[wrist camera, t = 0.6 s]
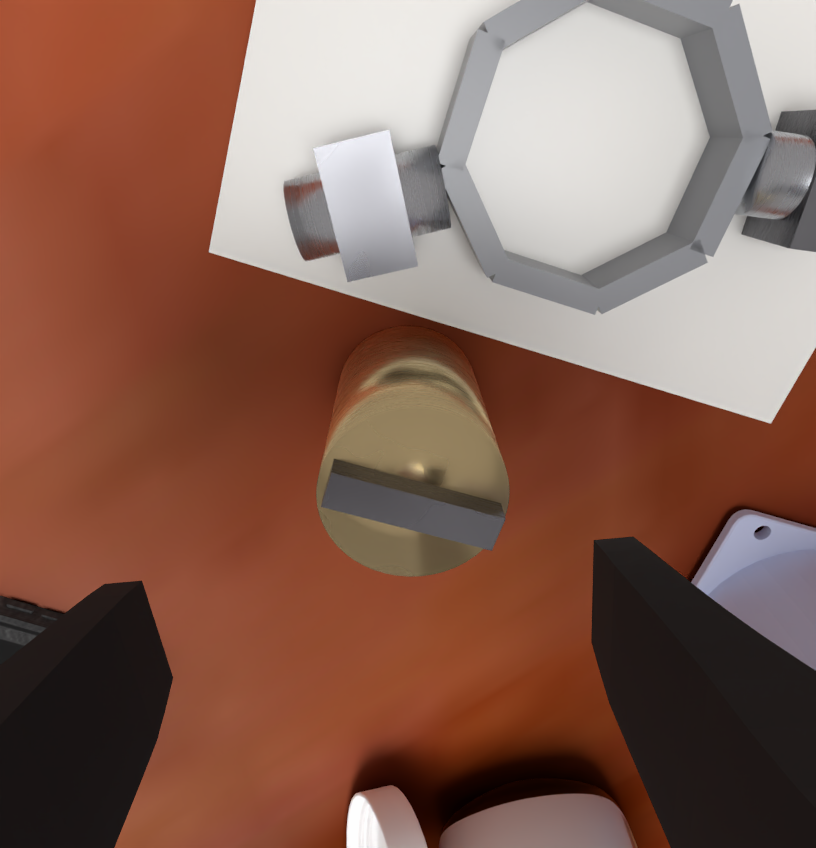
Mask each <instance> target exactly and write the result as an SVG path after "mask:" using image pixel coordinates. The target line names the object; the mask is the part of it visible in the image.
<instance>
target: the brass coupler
mask: <svg viewBox="0 0 816 848" xmlns="http://www.w3.org/2000/svg"><path fill="white" fill-rule="evenodd" d="M316 497H317V507H318V511H319V515H320V518H321V520H322V523H323V525H324V527H325V529H326V531H327V533H328V534H329V536H330V537H331V539H332V540H333V541H334V542H335V544H336V545H337V546H338V547H339V548H340V549H341V550H342V551H343V552H344V553H346V554H347V555H348V556H349V557H351V558H352V559H353V560H355V561H357V562H359V563H360V564H362V565H364V566H366V567H369V568H371V569H373V570H376V571H379V572H383V573H386V574H391V575H397V576H425V575H432V574H436V573H440V572H444V571H447V570H450V569H452V568H455V567H457V566H459V565H461V564H463V563H465V562H467V561H468V560H470V559H471V558H473V557H474V556H476V555H477V554H478V553H479V552H480V551H482V550H483V549H487V550H491V551H492V549H493V546H494V544H495V542H496V539H497V537H498V535H499V533H500V530H501V528H502V526H503V524H504V521H505V515H506V512H507V508H508V503H509V480H508V475H507V471H506V467H505V464H504V461H503V458H502V455H501V452H500V449H499V446H498V443H497V441H496V438H495V435H494V432H493V429H492V426H491V423H490V420H489V417H488V414H487V411H486V408H485V405H484V402H483V399H482V396H481V393H480V390H479V387H478V384H477V381H476V378H475V375H474V372H473V369H472V367H471V364H470V362H469V360H468V359H467V357H466V355H465V354H464V353H463V351H462V350H461V349H460V348H459V347H458V346H457V345H456V344H455V343H454V342H453V341H452V340H450V339H449V338H447V337H446V336H444V335H442V334H441V333H439V332H437V331H434V330H431V329H428V328H424V327H420V326H397V327H391V328H388V329H384V330H381V331H379V332H377V333H375V334H373V335H371V336H370V337H368V338H366V339H365V340H364V341H363V342H361V343H360V344H359V345H358V346H357V347H356V348H355V349H354V350H353V351H352V353H351V354H350V356H349V357H348V359H347V360H346V362H345V364H344V366H343V369H342V372H341V375H340V380H339V385H338V389H337V394H336V398H335V403H334V408H333V412H332V417H331V421H330V426H329V431H328V435H327V440H326V444H325V449H324V454H323V458H322V463H321V467H320V472H319V477H318V481H317V491H316Z"/></svg>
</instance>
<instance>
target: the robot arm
mask: <svg viewBox="0 0 816 848" xmlns="http://www.w3.org/2000/svg"><path fill="white" fill-rule="evenodd" d="M761 526H764V528H763V529H762V530H761V531H759V532H757V533H754V532H755V530H756V529H757V528H758V527H761ZM592 645H593V649H594V652H595V656H596V659H597V663H598V666H599V670H600V673H601V677H602V680H603V683H604V687H605V690H606V693H607V697H608V700H609V703H610V705H611V708H612V710H613V713H614V715H615V718H616V720H617V722H618V725H619V727H620V729H621V732H622V734H623V737H624V739H625V741H626V744H627V746H628V748H629V751H630V753H631V756H632V758H633V760H634V763H635V765H636V767H637V770H638V772H639V774H640V777H641V779H642V781H643V784H644V786H645V788H646V791H647V793H648V795H649V798H650V800H651V802H652V805H653V807H654V809H655V812H656V814H657V816H658V819H659V821H660V823H661V826H662V828H663V830H664V833H665V835H666V837H667V840H668V842H669V844H670V847H671V848H816V528H813V527H810V526H806V525H803V524H799V523H796V522H792V521H789V520H785V519H782V518H778V517H774V516H771V515H767V514H764V513H760V512H757V511H753V510H747V509H744V510H740V511H738V512H736V513H734V514H733V515H732V516H731V517H730V519H729V520H728V522H727V523H726V525H725V527H724V528H723V530H722V532H721V533H720V535H719V537H718V538H717V540H716V542H715V543H714V545H713V547H712V548H711V550H710V552H709V553H708V555H707V557H706V558H705V560H704V562H703V563H702V565H701V567H700V568H699V570H698V572H697V573H696V575H695V577H694V578H693V580H692V582H690V581H688V580H687V579H686V578H685V577H683V576H682V575H681V574H680V573H678V572H677V571H676V570H674V569H673V568H672V567H671V566H669V565H668V564H667V563H666V562H664V561H663V560H662V559H661V558H659V557H658V556H657V555H656V554H654V553H653V552H652V551H651V550H649V549H648V548H647V547H646V546H644V545H643V544H642V543H641V542H639V541H638V540H637V539H635V538H634V537H625V538H614V539H602V540H594V557H593V600H592ZM172 680H173V676H172V673H171V670H170V667H169V664H168V661H167V658H166V654H165V651H164V648H163V645H162V642H161V639H160V636H159V633H158V630H157V626H156V623H155V620H154V617H153V614H152V611H151V608H150V605H149V602H148V598H147V595H146V592H145V589H144V586H143V583H142V581H134V582H123V583H112V584H104V585H103V586H101V587H100V588H98V589H97V590H95V591H94V592H92V593H91V594H90V595H88V596H87V597H86V598H84V599H83V600H82V601H80V602H79V603H78V604H76V605H75V606H74V607H73V608H71V609H70V610H69V611H67V612H66V613H65V614H64V615H62V616H61V617H60V618H59V619H57V620H56V621H55V622H54V623H52V624H51V625H50V626H49V627H47V628H46V629H45V630H44V631H42V632H41V633H40V634H39V635H37V636H36V637H35V638H34V639H32V640H31V641H30V642H29V643H27V644H26V645H25V646H24V647H22V648H21V649H20V650H19V651H17V652H16V653H15V654H14V655H12V656H11V657H10V658H8V659H7V660H6V661H5V662H3V663H2V664H1V665H0V848H114V847H115V844H116V842H117V839H118V837H119V834H120V832H121V830H122V827H123V825H124V822H125V820H126V817H127V815H128V812H129V810H130V807H131V805H132V802H133V800H134V797H135V795H136V792H137V790H138V787H139V785H140V782H141V780H142V777H143V775H144V772H145V770H146V767H147V765H148V762H149V760H150V757H151V754H152V752H153V749H154V746H155V744H156V741H157V738H158V734H159V731H160V727H161V724H162V720H163V716H164V713H165V709H166V705H167V700H168V696H169V692H170V688H171V684H172Z"/></svg>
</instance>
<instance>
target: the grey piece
mask: <svg viewBox="0 0 816 848" xmlns="http://www.w3.org/2000/svg"><path fill="white" fill-rule="evenodd" d="M313 151H314V155H315V159H316V162H317V166H318V170H319V173H315V174H310V175H306V176H302V177H298V178H294V179H290V180H285V181H284V184H283V190H284V199H285V205H286V210H287V214H288V218H289V222H290V226H291V229H292V233H293V236H294V239H295V242H296V244H297V247H298V249H299V252H300V254H301V256H302V258H303V259H304V260H305V261H311V260H315V259H320V258H324V257H328V256H333V255H337V254H340V255H341V259H342V263H343V267H344V271H345V274H346V278H347V282H351V281H356V280H360V279H364V278H369V277H373V276H378V275H382V274H386V273H391V272H395V271H400V270H404V269H408V268H413V267H417V266H418V262H417V257H416V252H415V247H414V242H413V237H415V236H419V235H424V234H428V233H432V232H437V231H441V230H445V229H450V228H451V220H450V212H449V206H448V200H447V194H446V189H445V184H444V179H443V174H442V169H441V165H440V160H439V156H438V152H437V149H436V146H435V145H431V146H427V147H423V148H419V149H414V150H410V151H406V152H402V153H398V154H395V153H394V148H393V143H392V138H391V134H390V130H386V131H382V132H377V133H373V134H369V135H365V136H361V137H357V138H353V139H349V140H345V141H340V142H336V143H332V144H328V145H324V146H320V147H316V148H313Z"/></svg>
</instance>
